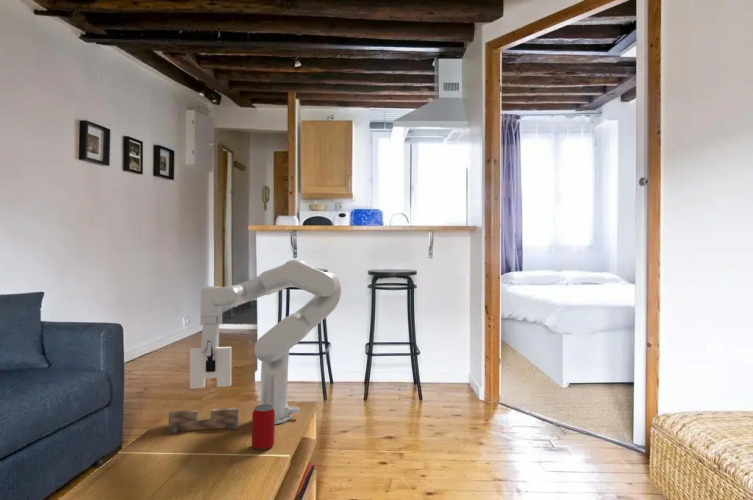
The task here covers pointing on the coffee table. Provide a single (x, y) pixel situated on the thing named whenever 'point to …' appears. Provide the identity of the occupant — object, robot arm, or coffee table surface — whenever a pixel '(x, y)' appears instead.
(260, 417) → the beverage can
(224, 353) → the pale notched plate
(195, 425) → the walnut slotted board
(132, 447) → the coffee table surface
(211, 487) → the coffee table surface
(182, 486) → the coffee table surface
